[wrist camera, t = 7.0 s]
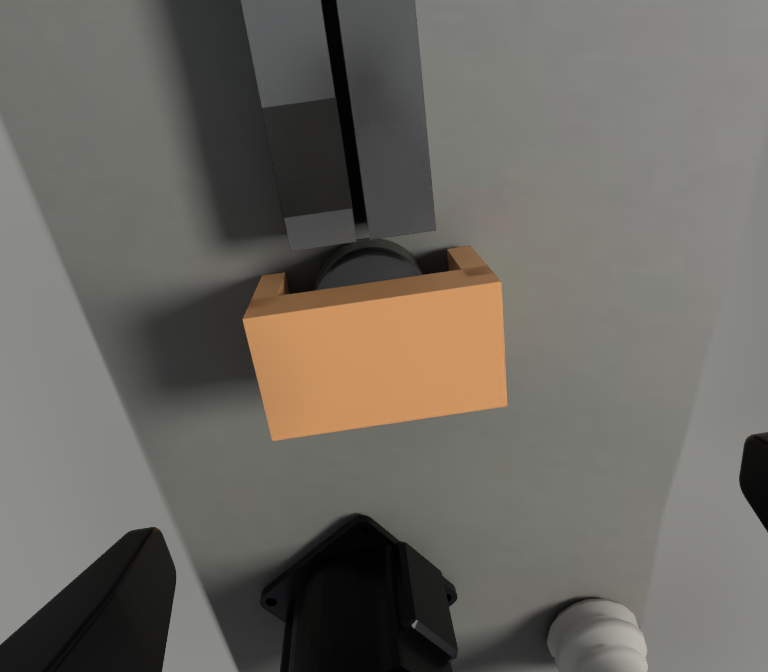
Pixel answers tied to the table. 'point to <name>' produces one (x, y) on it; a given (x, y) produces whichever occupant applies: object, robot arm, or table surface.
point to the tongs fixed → (384, 140)
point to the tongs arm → (301, 120)
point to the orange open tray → (378, 349)
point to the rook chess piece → (597, 638)
